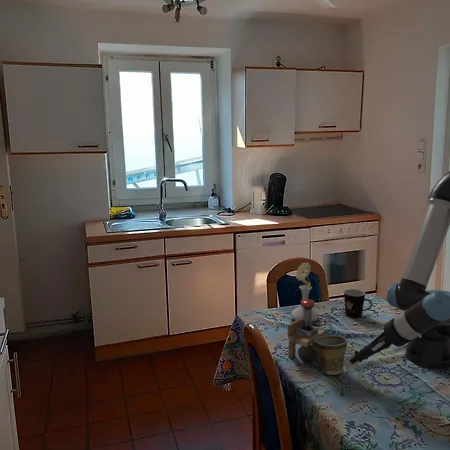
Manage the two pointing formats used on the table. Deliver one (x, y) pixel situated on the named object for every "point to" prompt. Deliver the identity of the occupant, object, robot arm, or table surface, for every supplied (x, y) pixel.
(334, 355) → the ceramic cup
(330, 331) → the table surface
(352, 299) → the coffee mug
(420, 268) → the robot arm
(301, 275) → the flower in vase
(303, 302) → the pin
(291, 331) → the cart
